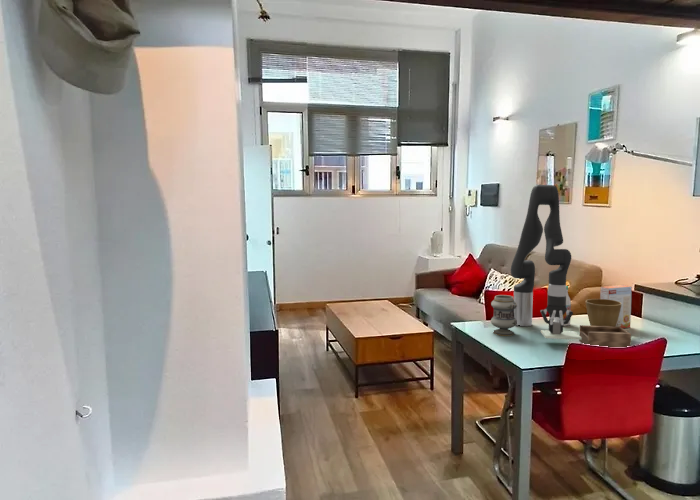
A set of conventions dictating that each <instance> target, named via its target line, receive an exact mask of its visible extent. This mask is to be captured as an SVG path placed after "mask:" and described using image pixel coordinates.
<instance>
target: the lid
mask: <svg viewBox="0 0 700 500" xmlns="http://www.w3.org/2000/svg"><path fill="white" fill-rule="evenodd" d="M560 324H561V323H560V322H554V321H553V324H552V325H553V333H550V331H549V329H541V330H540V333H541V335H542V336H543V337H544V338H545V339H552V340H553V339H555V340H556V339H557V340H578V341H579V340H581V337H580V336H579V333H577V332H576V331H574V330H573V331H572V330H571V331H570V330H563V332H562V333H560Z"/></svg>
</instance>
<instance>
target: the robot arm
mask: <svg viewBox="0 0 700 500" xmlns="http://www.w3.org/2000/svg"><path fill="white" fill-rule="evenodd" d="M530 192H531V193H530V195H529V201H528V202H529V203H528V207H527V213H526V217H525V220H524V222H523V224H524V225H523V226H522V231H521V234H520V239H519V241H518V245H517V246H518V247H517V249H516V252H515V255H514V257H513V259H512V262H511V266H510V275H511V276H512V278H514V279H523V280H522V281H520V282H519V283H517V284H515V285H514V286H513V299H514V301H515V302H516V303H517V307H516V308H515V309H514V318H515V319H516V320H517V325H516V326H518V325H520V326H519V327H530V326H532V325H533V304H534V303H533V301H534V299H533V298H534V297H533V296H534V286H535V276H536V266H535V263H534V261H533V260H531V259H530V260H529V259H526V258H527V256H528V255H529V254H530V253H532V251H533V250H534V249H535V248H537V246H538V245H539V244H540V243H541V239H542V236H543V234H544V237H545V254H544V261H545V262H546V264H547V265H549V266H559V267H558V268H556V269H553V270H551V271H549V272H548V284H547V285H548V286H547V300H546V301H547V303H546V307H545V308H544V309H540V310H539V312H540V314H541V316H542V319H543V321H544V323H545V324H548V330H549V331H550V333H553V325H552V324H553V322H554V318H555V317H558V318H559V322H560V323H561V324H560V333H562V332H563V331H564V326H563V325H564V324H568V322H569V320H570V321H571V319H570V318H572V317H573V314H574V311H572V310H571V311H569V310H567V308H566V286H567V274H568V271H569V269H570V264H571V261H572V253H571V252H570V250H569V249H568V248H555V247H559V246H561V245H563V243H564V237H563V233H562V227H561V217H560V216H561V215H560V195H559V191H558V187H557V186H555V185H553V184H535V185H534V186H532V189H531V191H530ZM540 206H549V214H548V217H547V219H546V220H545V223H544V227H543V224H542V222H541V219H540V217H539V214H538V210H539V207H540ZM566 312H567V313H566ZM547 313H548V314H549V318H547ZM565 313H566V314H567V316H566V318H565V319H564V321H563V315H564V314H565ZM548 319H549V320H548Z"/></svg>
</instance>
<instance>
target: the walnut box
mask: <svg viewBox="0 0 700 500" xmlns="http://www.w3.org/2000/svg"><path fill="white" fill-rule="evenodd" d="M578 335H579V336H580V337H581V340H578V341H579V342H580V343H581V344H582V343H584V344H590V345H599V346H608V347H627V346H631V345H632V344H631V343H632V334H631V333H630V332H629V331H627V330H626V329H625V328H621V327H617V326H591V325H584V324H583V325H581V324H580V325H579V333H578Z"/></svg>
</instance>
